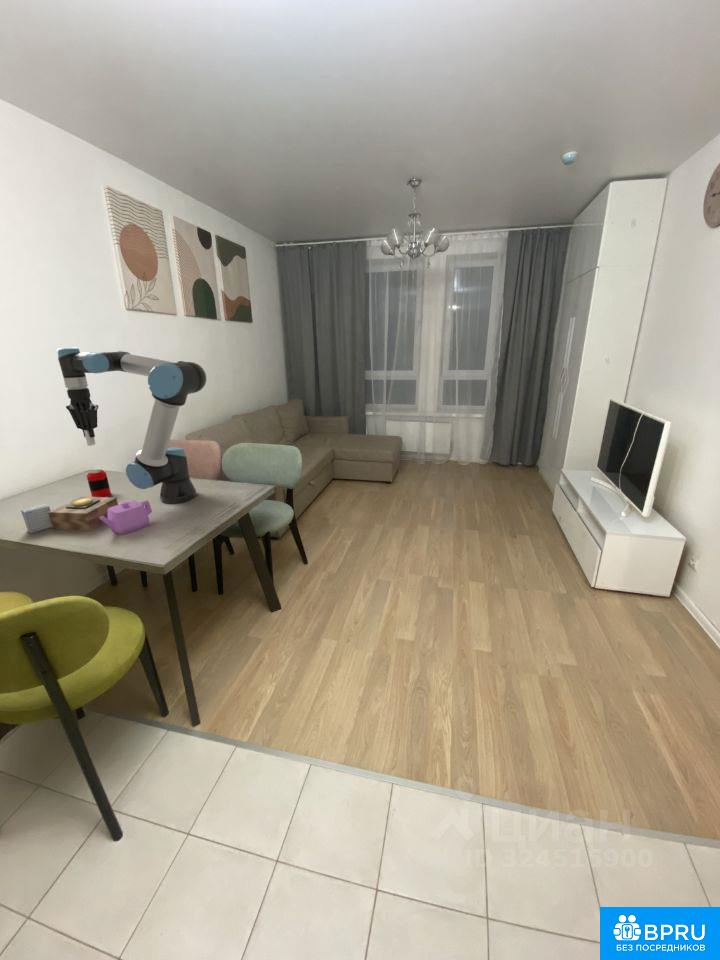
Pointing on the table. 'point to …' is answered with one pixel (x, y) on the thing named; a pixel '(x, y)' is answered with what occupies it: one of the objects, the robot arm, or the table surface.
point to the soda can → (98, 483)
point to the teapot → (128, 516)
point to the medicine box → (37, 518)
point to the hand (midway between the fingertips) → (91, 444)
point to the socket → (81, 514)
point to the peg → (82, 502)
